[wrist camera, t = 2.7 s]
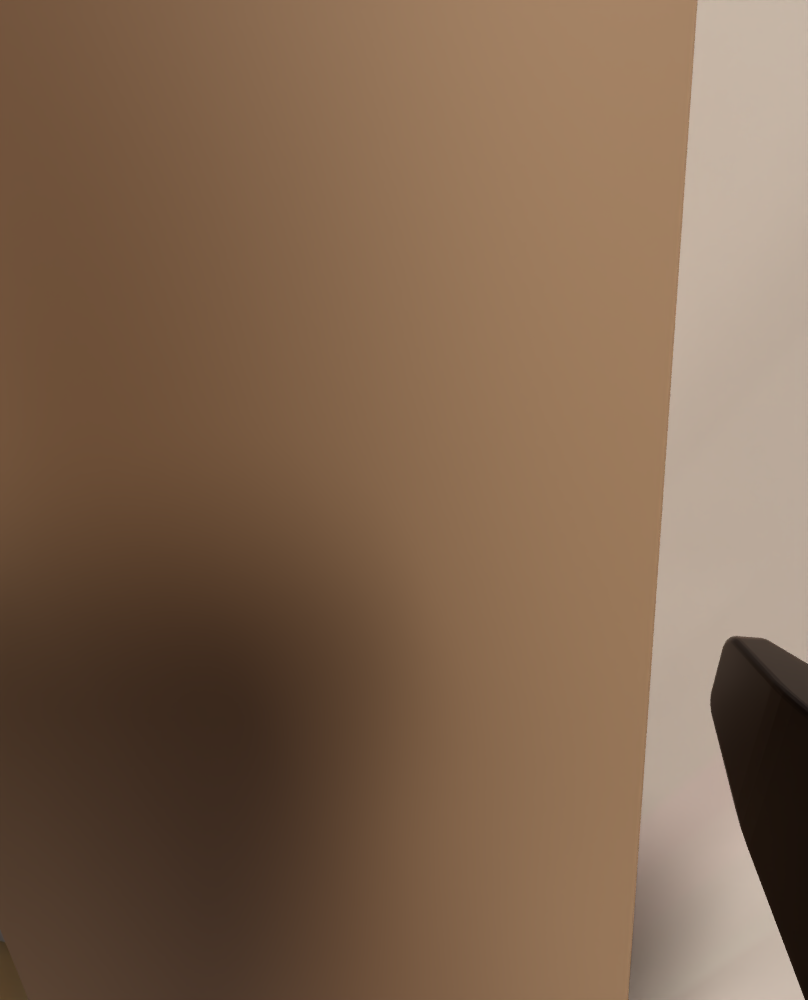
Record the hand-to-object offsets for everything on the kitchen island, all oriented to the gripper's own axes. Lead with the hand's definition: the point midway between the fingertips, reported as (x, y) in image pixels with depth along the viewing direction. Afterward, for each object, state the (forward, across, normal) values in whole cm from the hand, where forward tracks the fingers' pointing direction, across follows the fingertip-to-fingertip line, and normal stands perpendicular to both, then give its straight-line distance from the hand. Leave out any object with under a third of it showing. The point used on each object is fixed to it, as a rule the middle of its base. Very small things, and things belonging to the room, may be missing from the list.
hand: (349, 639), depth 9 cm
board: (+3, 0, 0) cm, 3 cm away
